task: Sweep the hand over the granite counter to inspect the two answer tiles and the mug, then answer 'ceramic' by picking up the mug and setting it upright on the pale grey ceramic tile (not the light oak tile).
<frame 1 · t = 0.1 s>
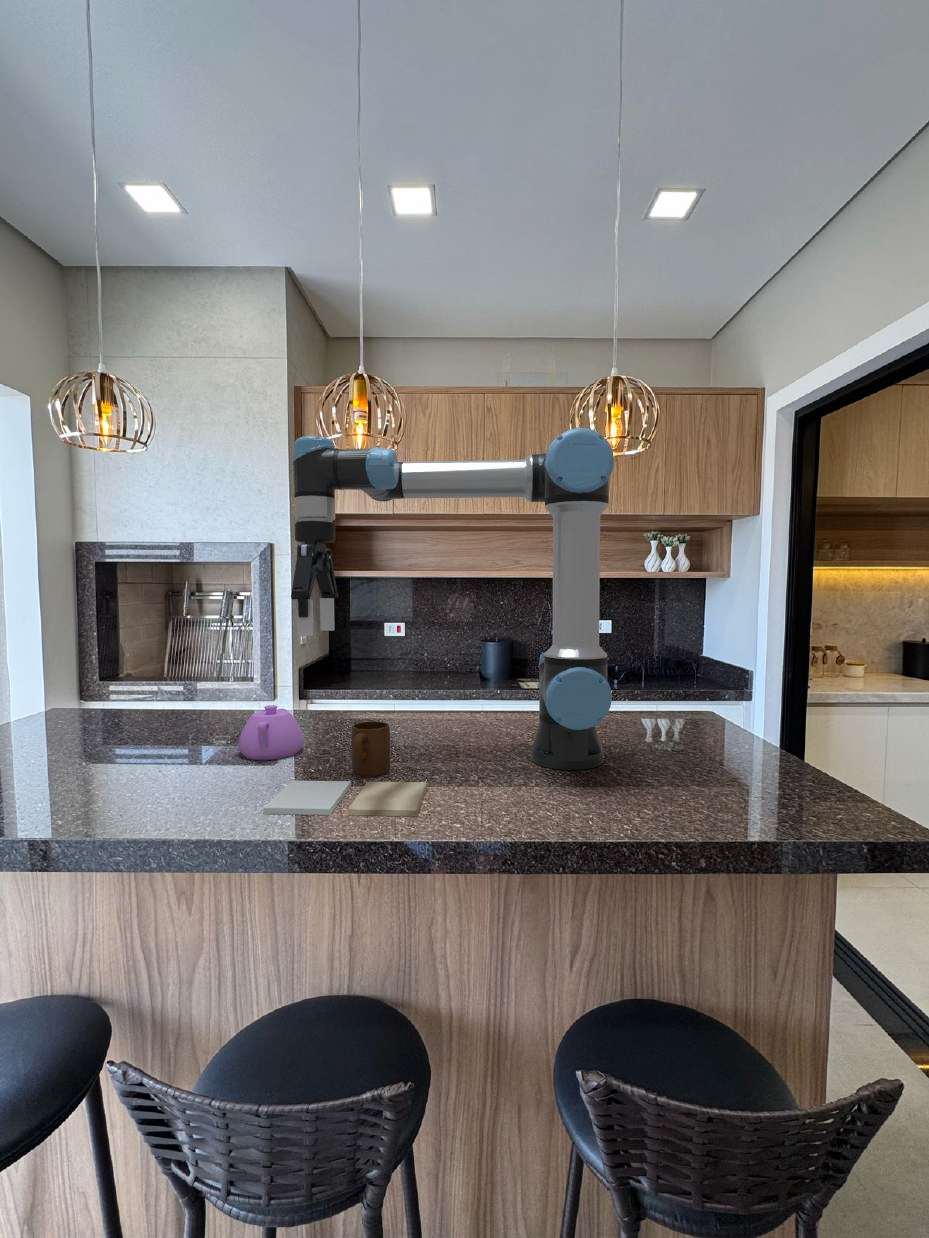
hand: (317, 633, 117), 28 cm above the counter, fingers open, 13 cm apart
mug: (367, 776, 119), on the counter
tile grey: (310, 799, 106), on the counter
teapot: (272, 753, 137), on the counter
tile oak: (390, 800, 105), on the counter
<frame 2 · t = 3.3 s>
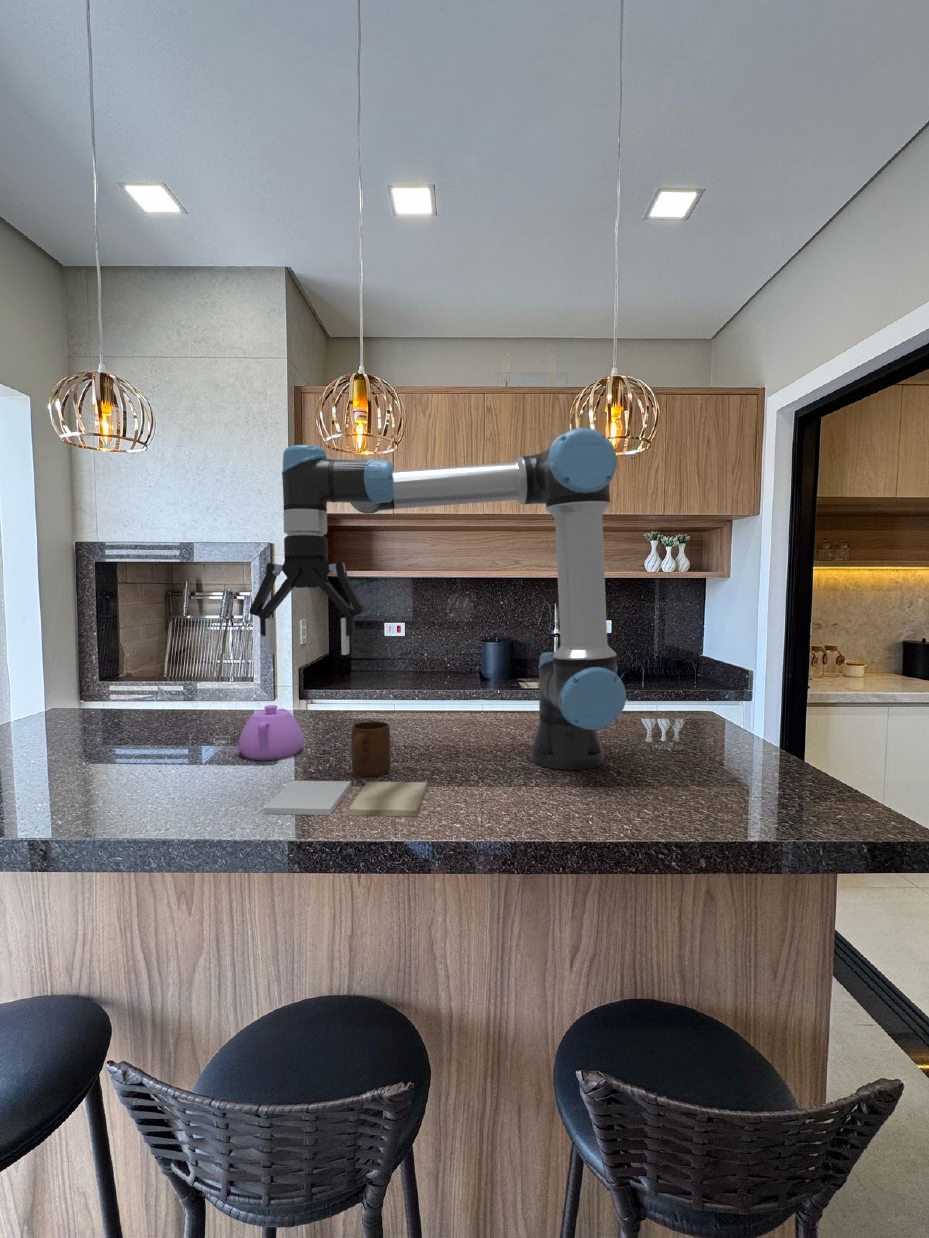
hand: (308, 654, 110), 25 cm above the counter, fingers open, 13 cm apart
nothing on the counter moved.
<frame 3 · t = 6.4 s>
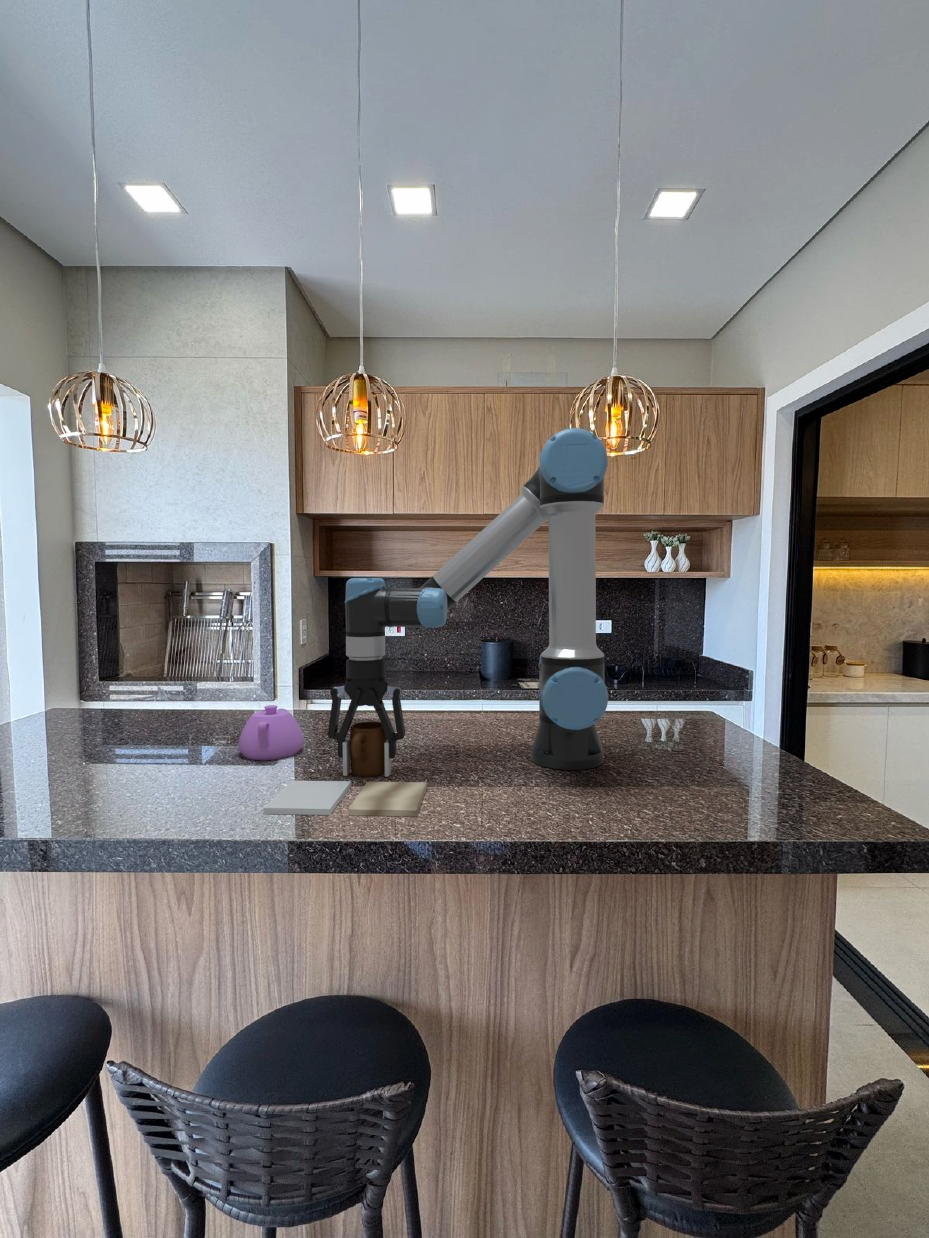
hand: (367, 773, 119), 0 cm above the counter, fingers closed on mug, 7 cm apart
mug: (366, 776, 119), on the counter, touching gripper
everything else where it was.
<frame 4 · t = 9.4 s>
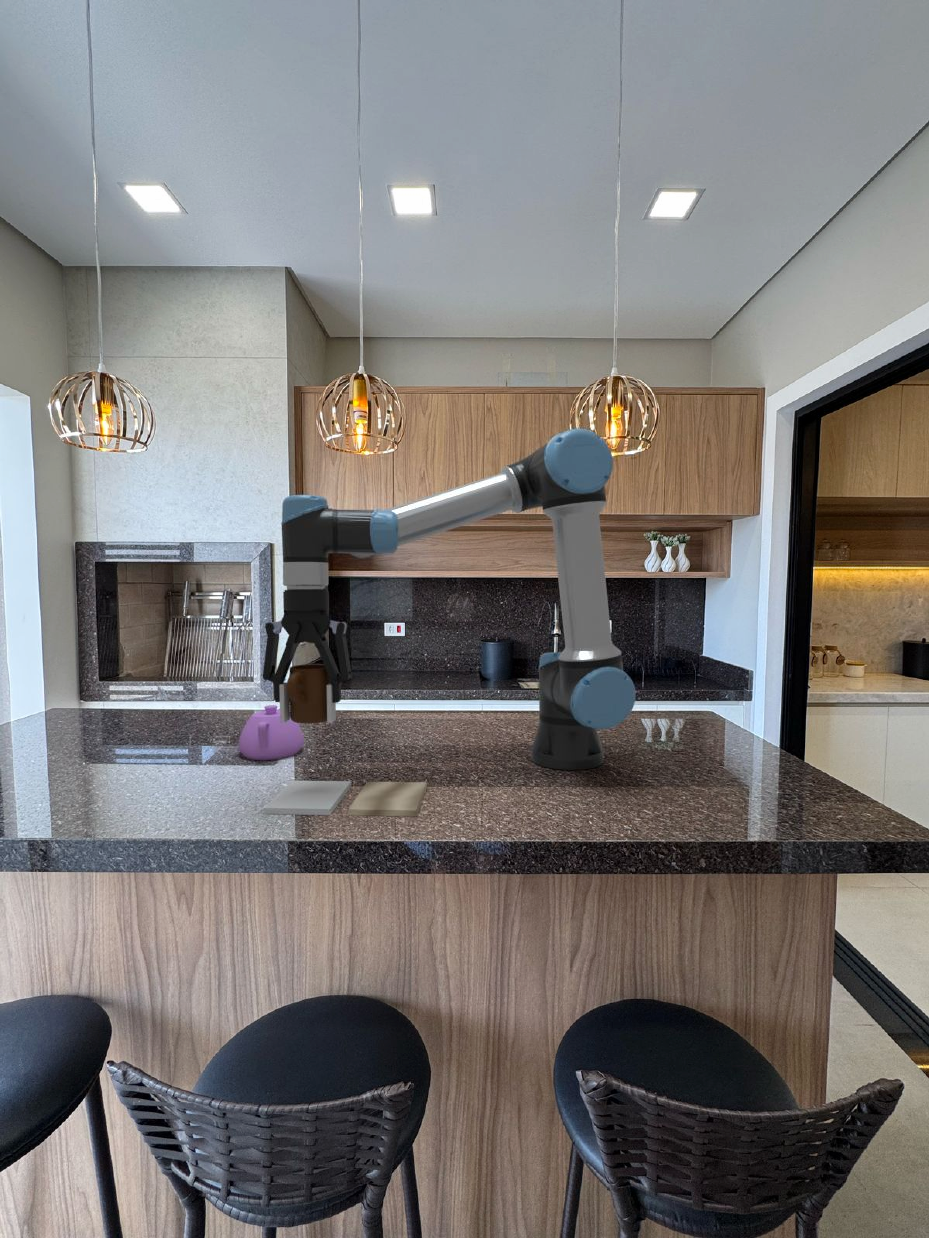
hand: (308, 720, 105), 14 cm above the counter, fingers closed on mug, 7 cm apart
mug: (306, 723, 105), point 13 cm above the counter, touching gripper
everything else where it was.
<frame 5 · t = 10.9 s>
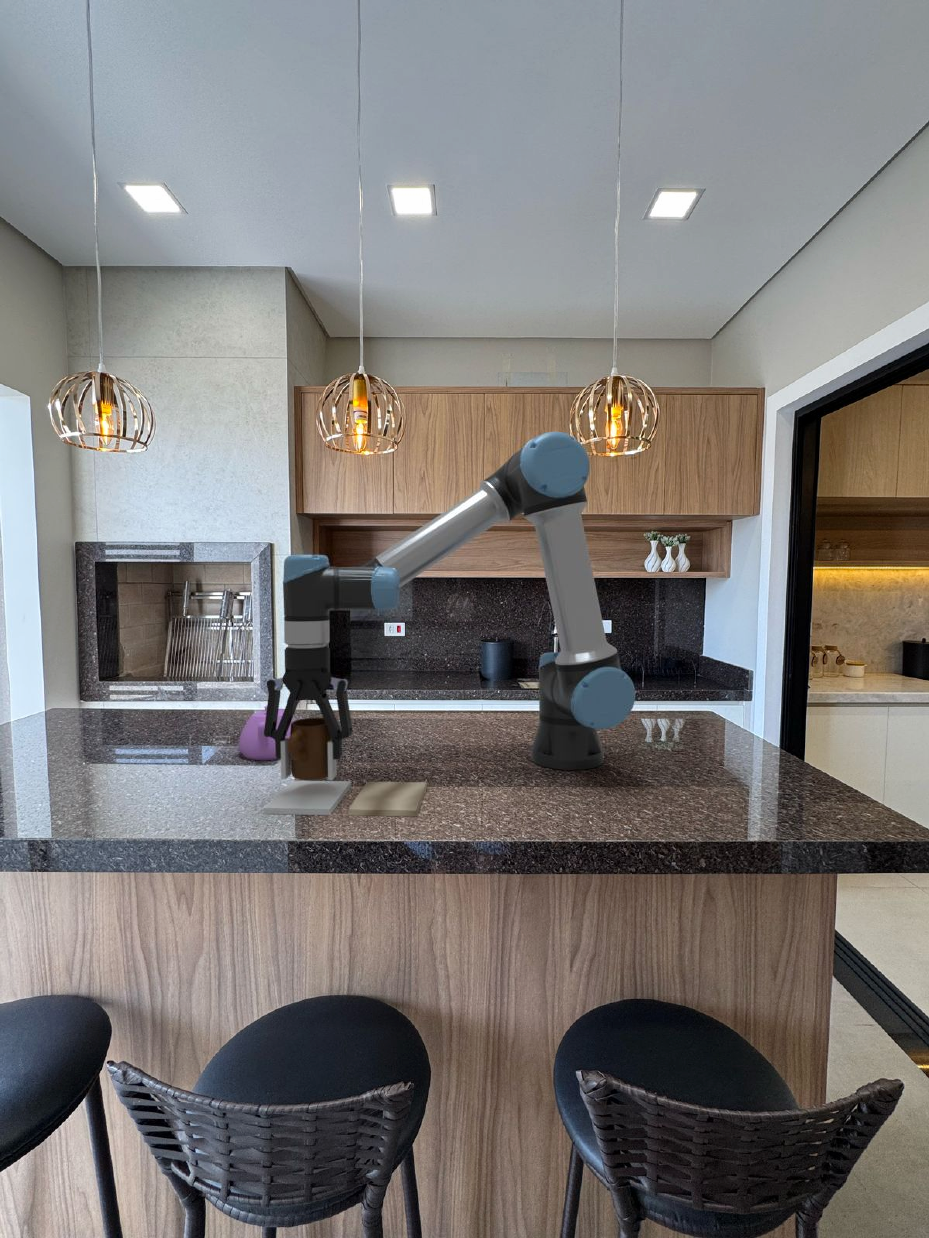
hand: (309, 776, 105), 4 cm above the counter, fingers closed on mug, 7 cm apart
mug: (307, 779, 105), point 4 cm above the counter, touching gripper
everything else where it was.
when the fingers open (3 cm above the counter, at t = 12.1 s): mug drops 1 cm, resting on tile grey.
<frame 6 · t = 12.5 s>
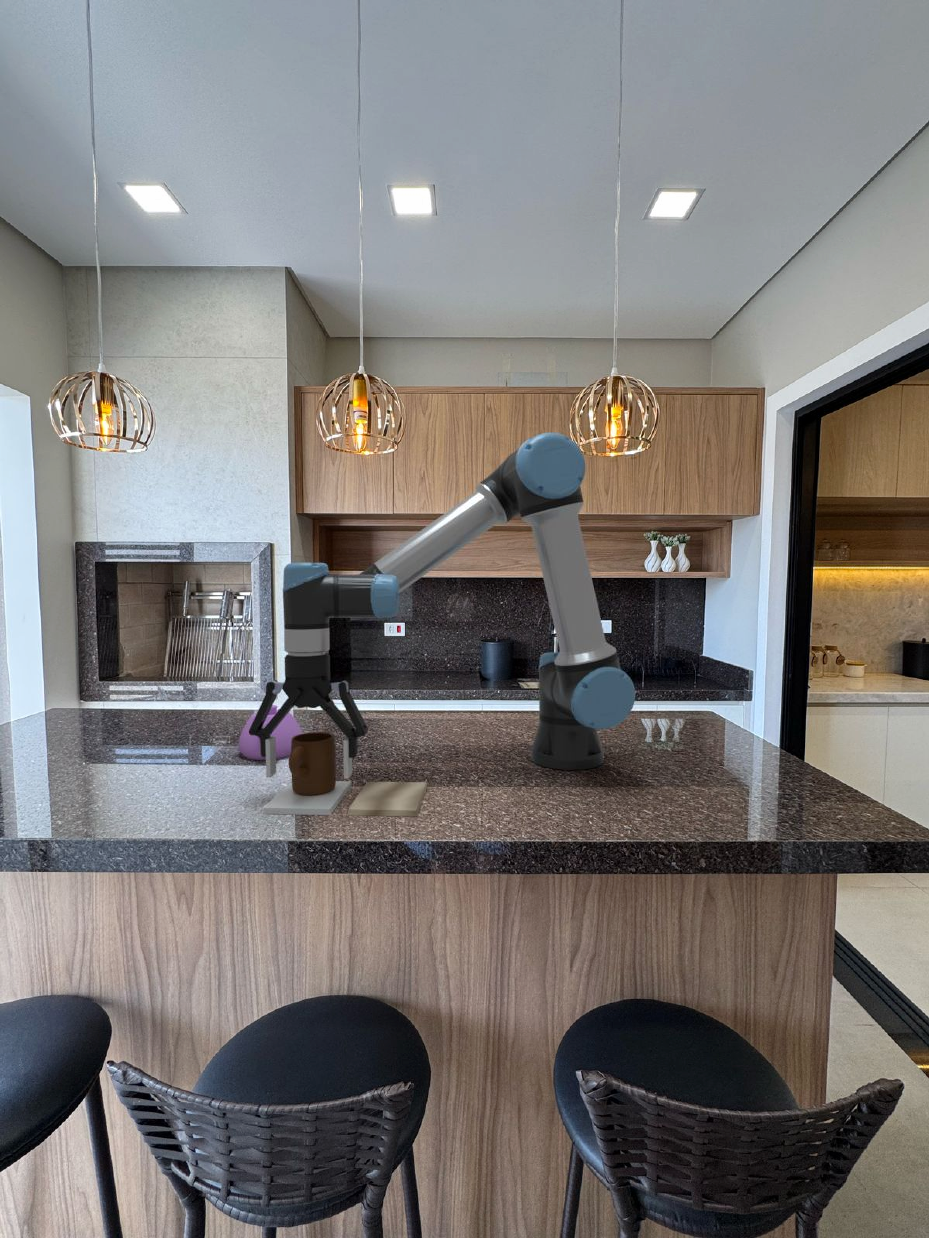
hand: (309, 775, 105), 4 cm above the counter, fingers open, 13 cm apart
mug: (308, 794, 106), point 1 cm above the counter, touching tile grey
everything else where it was.
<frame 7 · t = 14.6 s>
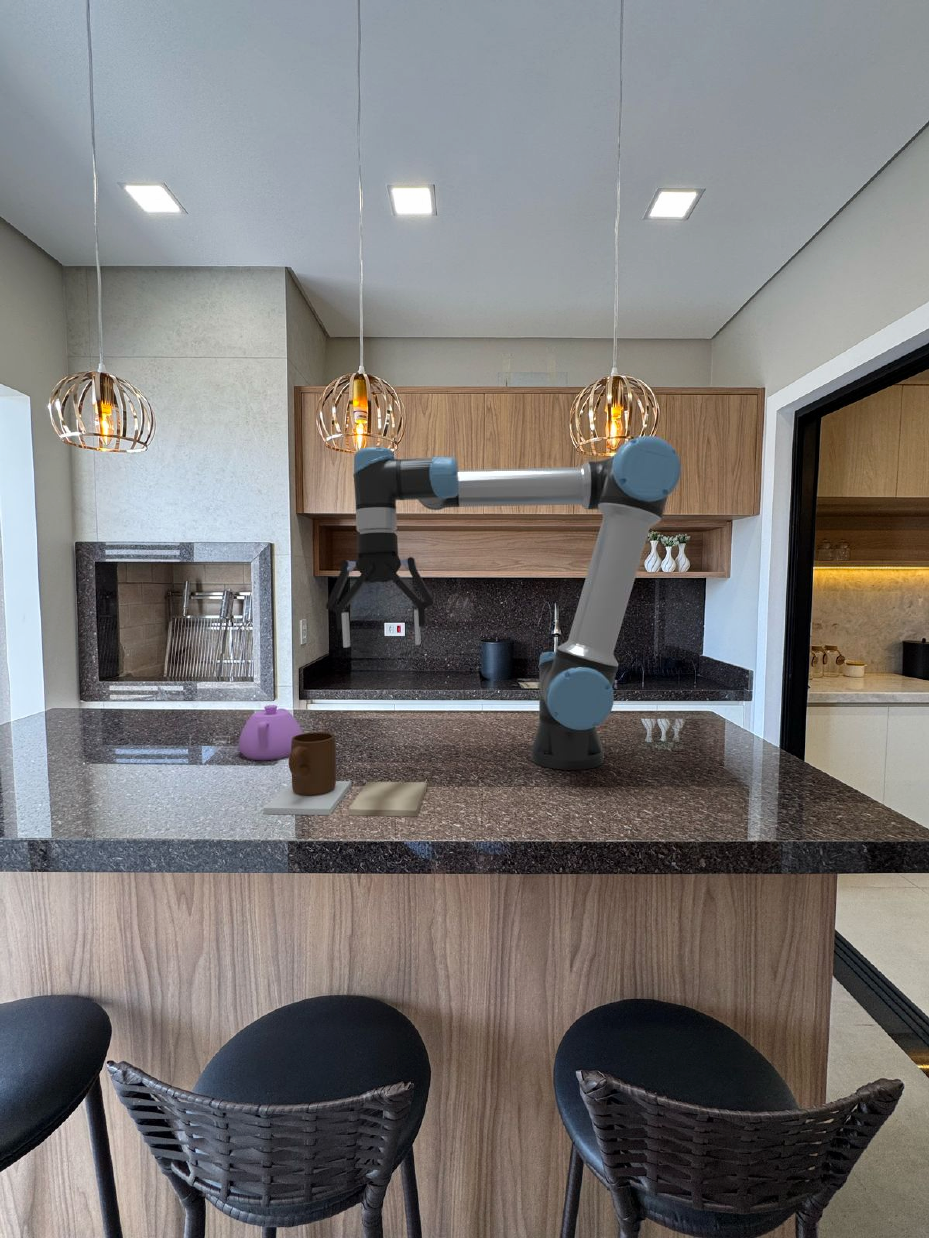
hand: (382, 645, 116), 26 cm above the counter, fingers open, 13 cm apart
nothing on the counter moved.
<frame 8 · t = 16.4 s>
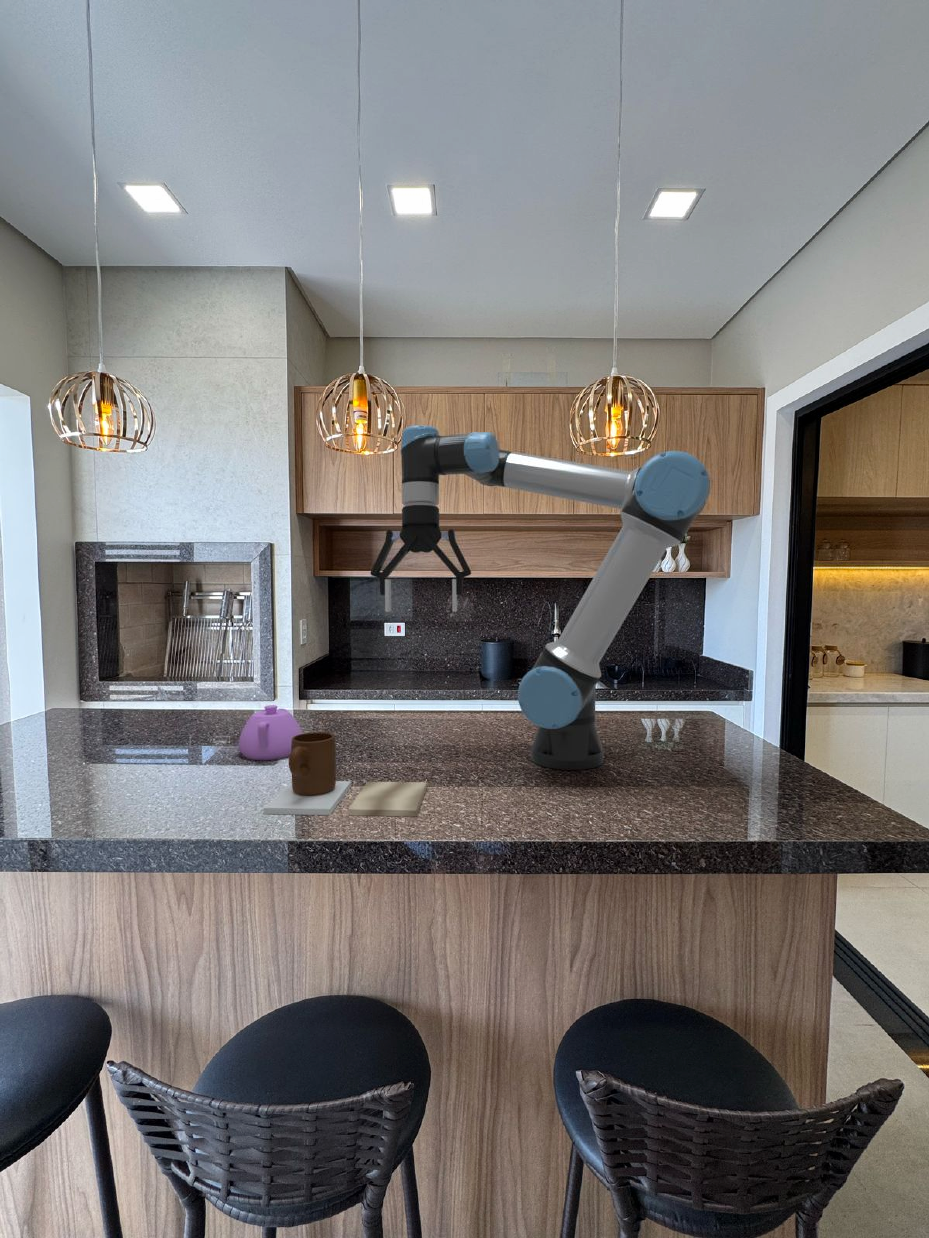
hand: (421, 611, 124), 32 cm above the counter, fingers open, 13 cm apart
nothing on the counter moved.
at the end: mug inside the target area on the tile grey (0.3 cm from its centre), point 0.8 cm above the tile grey's base; mug tilted 0°; the gripper is holding nothing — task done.
